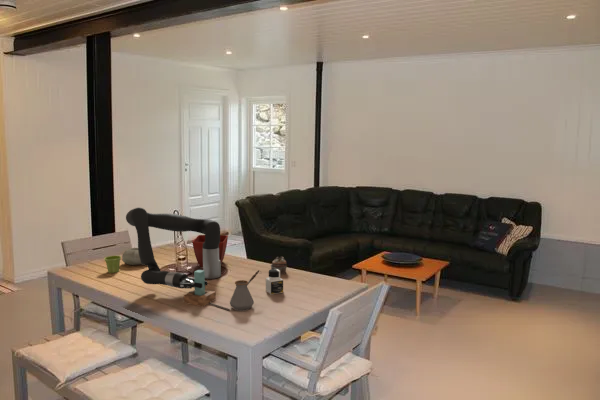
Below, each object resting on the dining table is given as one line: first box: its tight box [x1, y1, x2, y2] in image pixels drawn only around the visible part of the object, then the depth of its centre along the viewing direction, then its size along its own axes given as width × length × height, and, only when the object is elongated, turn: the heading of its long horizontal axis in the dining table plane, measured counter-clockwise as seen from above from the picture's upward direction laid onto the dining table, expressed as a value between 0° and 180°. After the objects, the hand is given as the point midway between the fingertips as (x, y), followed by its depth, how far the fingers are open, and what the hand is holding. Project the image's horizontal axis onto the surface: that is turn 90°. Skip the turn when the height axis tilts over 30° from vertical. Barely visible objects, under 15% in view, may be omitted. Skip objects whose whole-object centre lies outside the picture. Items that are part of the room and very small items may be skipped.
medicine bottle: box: [265, 268, 284, 295], centre depth 258 cm, size 7×7×12 cm
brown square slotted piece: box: [183, 289, 217, 307], centre depth 244 cm, size 11×11×4 cm
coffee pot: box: [229, 269, 262, 312], centre depth 238 cm, size 21×12×15 cm, turn 151°
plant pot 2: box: [192, 234, 229, 268], centre depth 309 cm, size 19×19×17 cm
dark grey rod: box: [208, 302, 230, 312], centre depth 236 cm, size 14×1×1 cm, turn 51°
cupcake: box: [270, 256, 288, 276], centre depth 291 cm, size 10×10×10 cm
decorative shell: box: [121, 247, 142, 266], centre depth 309 cm, size 18×18×10 cm
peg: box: [193, 269, 206, 296], centre depth 243 cm, size 4×4×14 cm
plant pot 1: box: [104, 255, 122, 274], centre depth 292 cm, size 9×9×9 cm
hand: (204, 284), depth 242 cm, fingers closed on peg, 3 cm apart
